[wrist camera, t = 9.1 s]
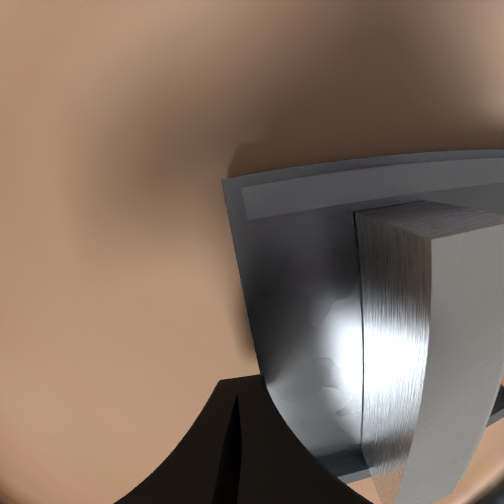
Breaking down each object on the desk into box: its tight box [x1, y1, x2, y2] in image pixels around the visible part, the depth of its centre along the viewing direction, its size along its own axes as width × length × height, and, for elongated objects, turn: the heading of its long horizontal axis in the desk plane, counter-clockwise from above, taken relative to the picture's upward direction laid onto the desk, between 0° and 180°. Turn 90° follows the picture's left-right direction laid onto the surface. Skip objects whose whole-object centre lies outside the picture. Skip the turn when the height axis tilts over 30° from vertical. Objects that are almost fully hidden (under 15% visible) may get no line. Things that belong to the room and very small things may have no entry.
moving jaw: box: [355, 201, 504, 504], centre depth 8 cm, size 3×10×4 cm, turn 10°
